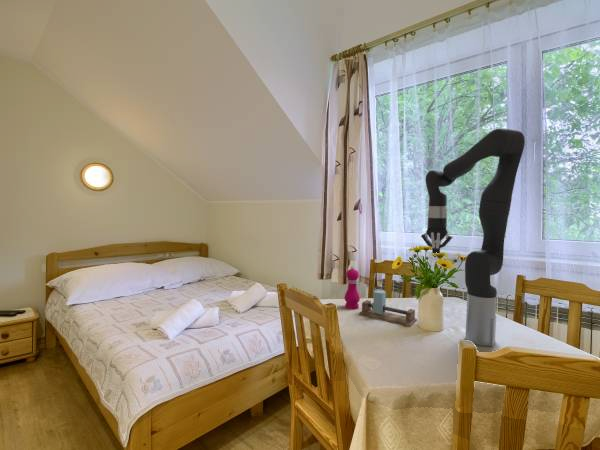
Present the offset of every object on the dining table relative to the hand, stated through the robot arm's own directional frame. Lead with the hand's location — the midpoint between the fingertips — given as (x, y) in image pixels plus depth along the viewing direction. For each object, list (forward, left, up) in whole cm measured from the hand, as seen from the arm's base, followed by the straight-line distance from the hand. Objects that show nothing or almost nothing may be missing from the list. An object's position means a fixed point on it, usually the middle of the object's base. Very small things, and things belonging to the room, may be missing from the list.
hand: (435, 256), depth 140 cm
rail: (+16, +13, -27) cm, 34 cm away
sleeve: (+20, +13, -26) cm, 35 cm away
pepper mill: (+35, +10, -27) cm, 45 cm away
